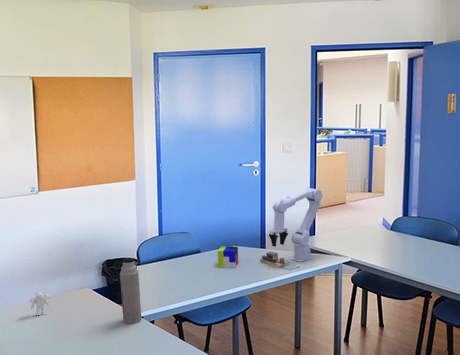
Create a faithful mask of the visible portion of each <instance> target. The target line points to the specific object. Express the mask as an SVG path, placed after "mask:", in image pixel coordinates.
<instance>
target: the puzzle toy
mask: <svg viewBox="0 0 460 355" xmlns="http://www.w3.org/2000/svg"><path fill="white" fill-rule="evenodd" d="M238 249H239V247H238V246H226V245H225V246H223V245H222V246H220V247H219V249H218V250H217V267H218V268H221V269H222V268H223V269H224V268H226V269H235V268H236V267H237V265H238V264H239V252H238V251H239V250H238Z"/></svg>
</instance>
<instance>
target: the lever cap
mask: <svg viewBox="0 0 460 355" xmlns="http://www.w3.org/2000/svg"><path fill="white" fill-rule="evenodd" d="M266 256H267V257H271V258H273V257H276V260H278V259H279V255H278V252H275V251H272V250H271V251H268V252H266Z"/></svg>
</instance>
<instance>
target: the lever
mask: <svg viewBox="0 0 460 355" xmlns="http://www.w3.org/2000/svg"><path fill="white" fill-rule="evenodd" d="M261 258H262V259H264V260H267V261H270V262H274V263H275V262H276V257H273V258H271V257H267V255H265V254H264V255H262V256H261Z"/></svg>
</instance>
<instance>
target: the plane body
mask: <svg viewBox="0 0 460 355" xmlns="http://www.w3.org/2000/svg"><path fill="white" fill-rule="evenodd" d="M259 263H263V264H266V265H269V266H272V267H275V268H278V269H283V268H282V267H284V266H288V265H289V262H288V261H286V260H285V258H284V257H283V258H278V260H276V262H275V263H274V262H270V261H267V260H264V259H262V257H261V258H259Z"/></svg>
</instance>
